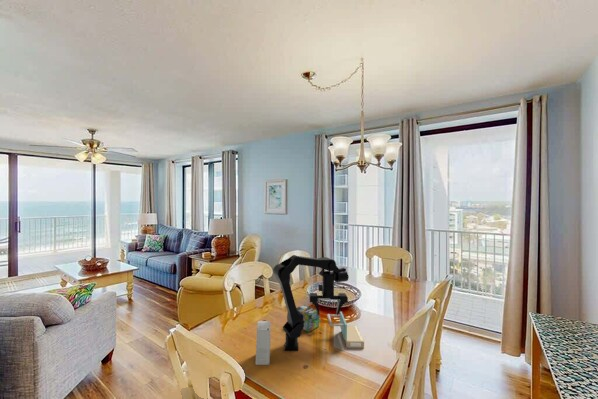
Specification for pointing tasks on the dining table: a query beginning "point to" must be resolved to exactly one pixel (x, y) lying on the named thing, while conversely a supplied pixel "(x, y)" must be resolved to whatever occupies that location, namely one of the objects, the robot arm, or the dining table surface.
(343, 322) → the lid flap
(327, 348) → the dining table surface
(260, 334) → the skincare box
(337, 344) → the dining table surface
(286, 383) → the dining table surface
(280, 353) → the dining table surface
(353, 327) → the carton
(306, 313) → the chalk box
